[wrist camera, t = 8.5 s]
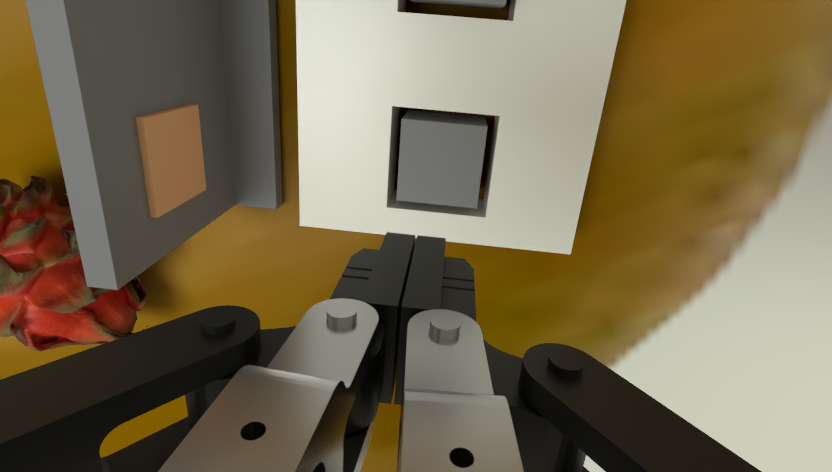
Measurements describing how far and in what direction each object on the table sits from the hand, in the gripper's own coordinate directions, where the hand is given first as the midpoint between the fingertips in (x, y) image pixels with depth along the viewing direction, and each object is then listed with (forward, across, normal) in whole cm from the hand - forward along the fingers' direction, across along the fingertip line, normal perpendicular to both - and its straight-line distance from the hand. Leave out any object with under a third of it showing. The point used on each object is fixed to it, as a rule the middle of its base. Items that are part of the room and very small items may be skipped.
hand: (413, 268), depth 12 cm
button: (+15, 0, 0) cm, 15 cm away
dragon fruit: (+15, +21, +8) cm, 27 cm away
